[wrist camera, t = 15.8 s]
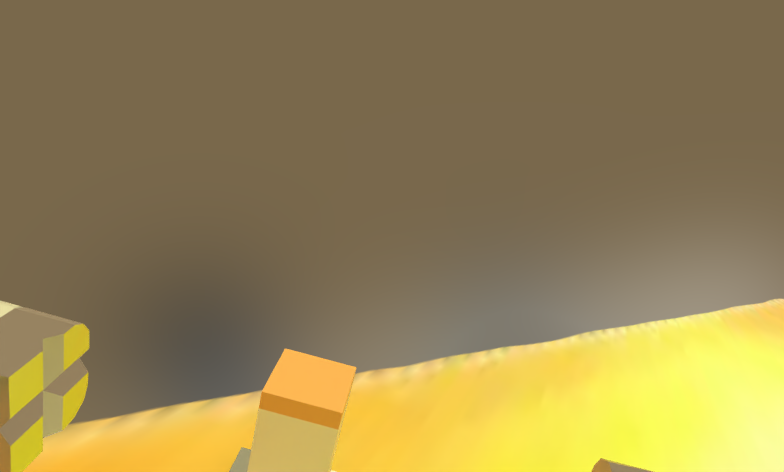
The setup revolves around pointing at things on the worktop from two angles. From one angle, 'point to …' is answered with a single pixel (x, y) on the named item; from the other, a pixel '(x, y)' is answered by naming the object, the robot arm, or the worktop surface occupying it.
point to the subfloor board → (243, 461)
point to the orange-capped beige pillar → (300, 414)
